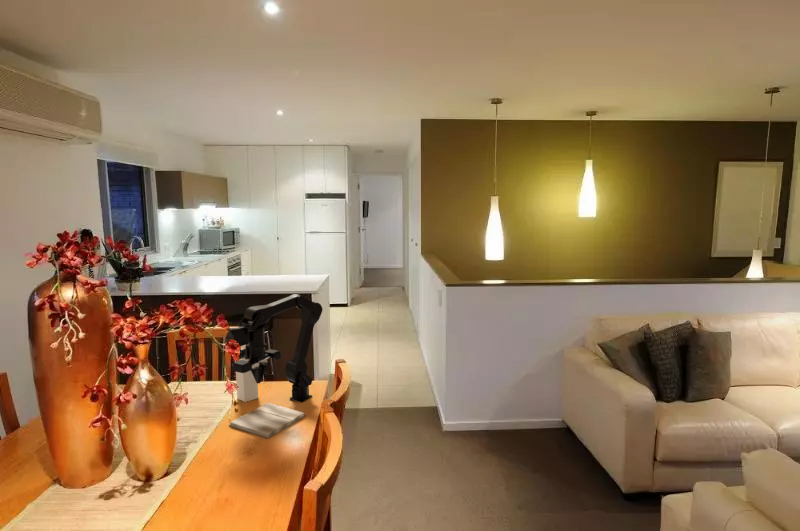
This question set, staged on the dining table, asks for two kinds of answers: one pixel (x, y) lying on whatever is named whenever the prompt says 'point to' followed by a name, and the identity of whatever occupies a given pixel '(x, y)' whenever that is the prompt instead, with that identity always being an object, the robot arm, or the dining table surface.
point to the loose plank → (281, 411)
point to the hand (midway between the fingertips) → (258, 383)
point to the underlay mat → (263, 436)
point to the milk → (246, 384)
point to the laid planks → (261, 423)
